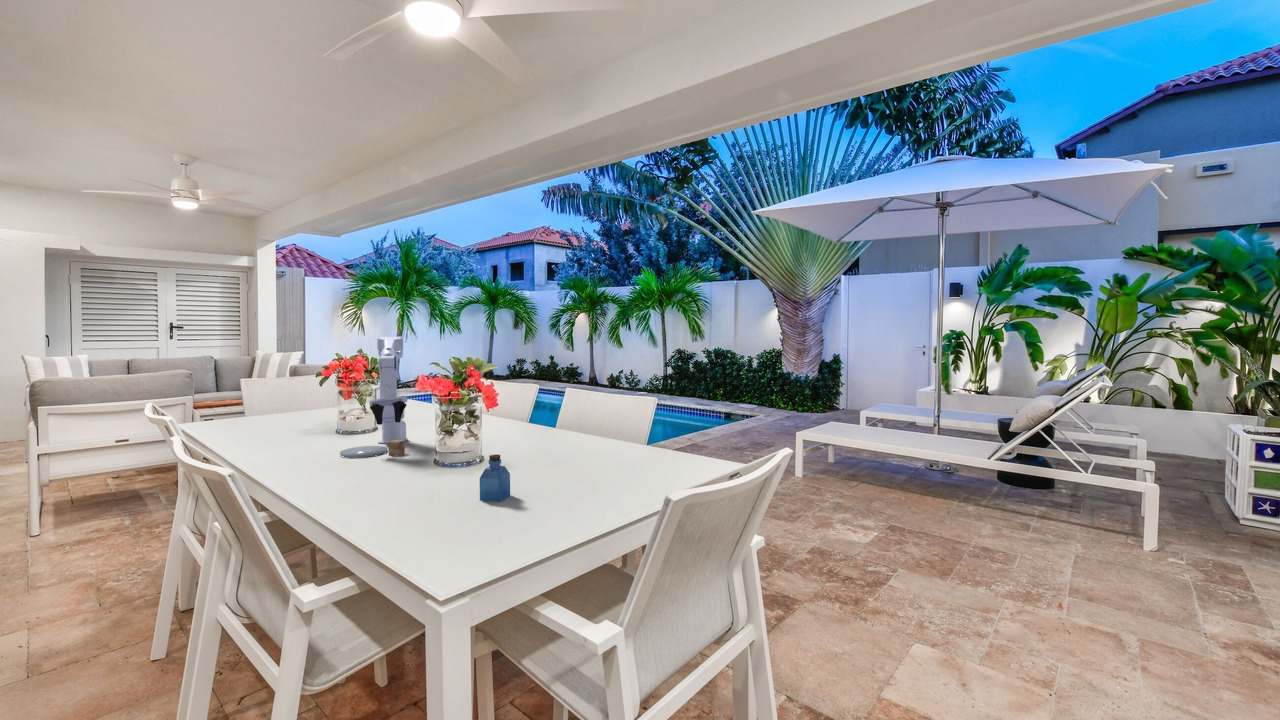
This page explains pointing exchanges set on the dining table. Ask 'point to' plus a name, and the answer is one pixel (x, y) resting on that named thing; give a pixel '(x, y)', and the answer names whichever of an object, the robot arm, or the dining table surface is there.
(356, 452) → the slate dish
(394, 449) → the walnut block
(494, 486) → the perfume bottle
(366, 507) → the dining table surface
